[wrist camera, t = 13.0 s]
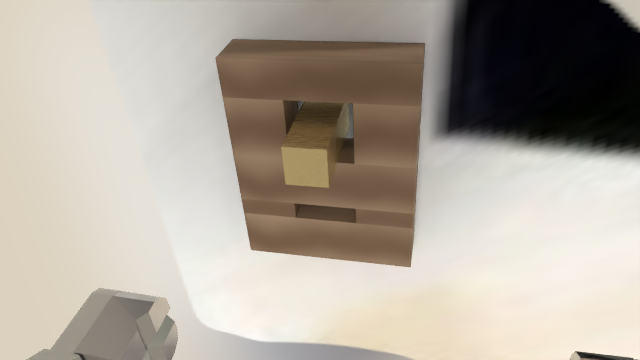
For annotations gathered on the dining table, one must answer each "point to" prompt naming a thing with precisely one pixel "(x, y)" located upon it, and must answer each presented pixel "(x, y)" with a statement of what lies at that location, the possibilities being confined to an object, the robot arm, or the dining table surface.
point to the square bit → (315, 143)
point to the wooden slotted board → (356, 155)
